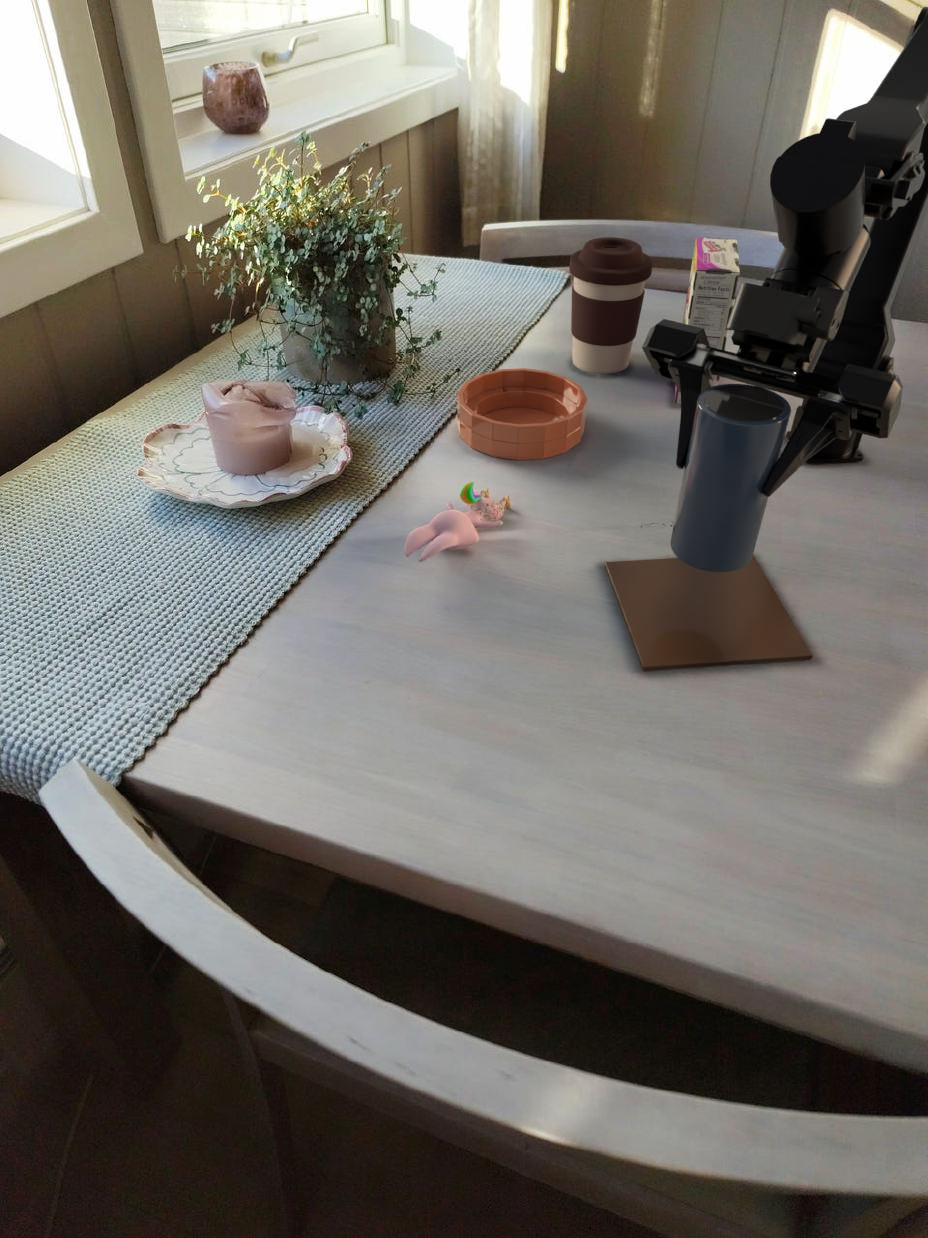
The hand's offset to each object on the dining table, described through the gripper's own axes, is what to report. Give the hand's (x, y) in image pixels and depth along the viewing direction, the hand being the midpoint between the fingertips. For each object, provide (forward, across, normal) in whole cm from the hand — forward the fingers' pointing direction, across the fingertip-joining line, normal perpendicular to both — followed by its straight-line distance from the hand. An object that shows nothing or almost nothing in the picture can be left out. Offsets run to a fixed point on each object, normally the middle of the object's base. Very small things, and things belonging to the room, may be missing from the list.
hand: (721, 480), depth 66 cm
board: (+9, 0, +10) cm, 14 cm away
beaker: (+4, 0, +6) cm, 7 cm away
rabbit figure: (+12, -23, +8) cm, 27 cm away
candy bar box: (-19, -18, +39) cm, 47 cm away
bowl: (-4, -30, +23) cm, 38 cm away
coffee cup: (-19, -31, +38) cm, 53 cm away
